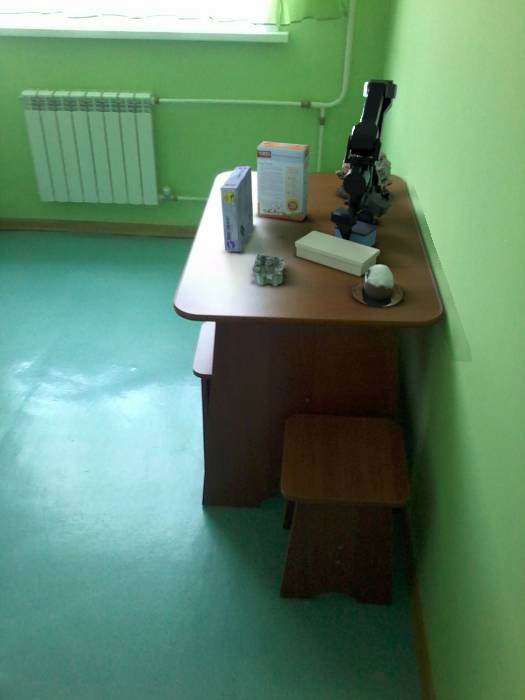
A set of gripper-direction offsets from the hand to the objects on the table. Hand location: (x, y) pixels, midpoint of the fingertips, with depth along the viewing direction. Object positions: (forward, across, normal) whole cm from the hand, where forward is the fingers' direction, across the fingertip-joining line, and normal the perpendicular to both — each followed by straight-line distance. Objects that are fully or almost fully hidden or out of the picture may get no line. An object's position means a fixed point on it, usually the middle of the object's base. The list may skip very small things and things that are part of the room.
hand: (355, 237), depth 169 cm
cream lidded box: (+2, -12, -1) cm, 12 cm away
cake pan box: (+2, -16, +28) cm, 32 cm away
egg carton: (+2, -29, +8) cm, 30 cm away
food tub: (+2, 0, 0) cm, 2 cm away
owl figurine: (+2, +33, +16) cm, 37 cm away
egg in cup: (+2, -21, -18) cm, 28 cm away
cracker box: (+2, +4, +27) cm, 27 cm away
